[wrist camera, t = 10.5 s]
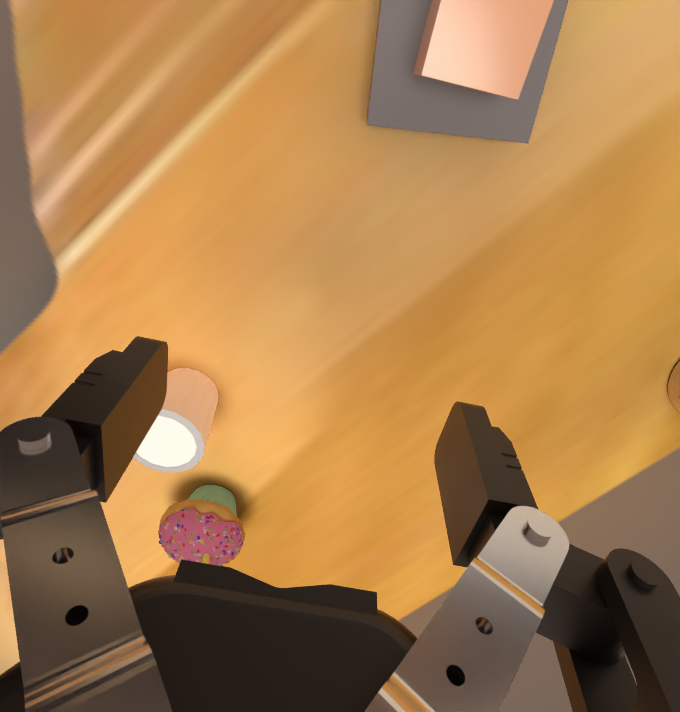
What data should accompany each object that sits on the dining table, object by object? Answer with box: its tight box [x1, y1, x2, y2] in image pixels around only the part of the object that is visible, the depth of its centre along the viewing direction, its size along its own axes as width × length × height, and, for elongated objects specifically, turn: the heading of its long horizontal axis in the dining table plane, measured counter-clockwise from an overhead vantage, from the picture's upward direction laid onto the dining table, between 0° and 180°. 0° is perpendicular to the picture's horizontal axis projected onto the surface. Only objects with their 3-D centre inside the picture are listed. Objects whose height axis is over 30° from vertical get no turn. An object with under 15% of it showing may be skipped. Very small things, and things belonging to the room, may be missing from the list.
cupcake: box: [158, 485, 245, 566], centre depth 47 cm, size 9×8×12 cm
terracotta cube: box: [412, 0, 554, 99], centre depth 24 cm, size 5×5×5 cm
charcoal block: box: [367, 0, 568, 143], centre depth 28 cm, size 10×10×4 cm
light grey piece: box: [133, 368, 219, 472], centre depth 41 cm, size 7×7×7 cm
